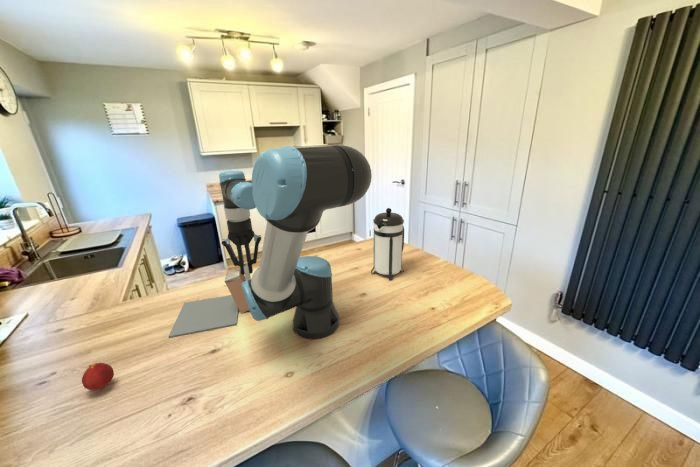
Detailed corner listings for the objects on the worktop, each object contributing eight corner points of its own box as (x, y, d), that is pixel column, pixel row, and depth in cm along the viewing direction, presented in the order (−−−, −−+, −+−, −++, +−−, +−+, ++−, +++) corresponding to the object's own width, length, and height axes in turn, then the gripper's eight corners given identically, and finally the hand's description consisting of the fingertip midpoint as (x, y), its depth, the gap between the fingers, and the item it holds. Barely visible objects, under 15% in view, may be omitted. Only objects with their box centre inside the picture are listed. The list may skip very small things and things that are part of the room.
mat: (236, 325, 93) (236, 323, 93) (168, 338, 88) (168, 336, 88) (240, 294, 111) (240, 293, 111) (184, 303, 106) (184, 302, 106)
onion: (99, 379, 73) (89, 355, 71) (122, 377, 74) (113, 353, 71) (81, 399, 68) (69, 373, 65) (106, 396, 68) (96, 371, 65)
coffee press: (409, 280, 119) (412, 212, 109) (371, 281, 119) (371, 213, 109) (402, 263, 135) (405, 202, 125) (369, 263, 136) (369, 203, 126)
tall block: (254, 308, 100) (239, 275, 95) (241, 313, 99) (224, 281, 94) (255, 298, 107) (240, 267, 101) (242, 303, 106) (226, 272, 100)
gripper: (259, 213, 98) (267, 274, 106) (219, 217, 94) (230, 279, 102) (258, 219, 91) (267, 283, 99) (215, 223, 88) (227, 289, 96)
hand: (248, 281), depth 101 cm, fingers closed
